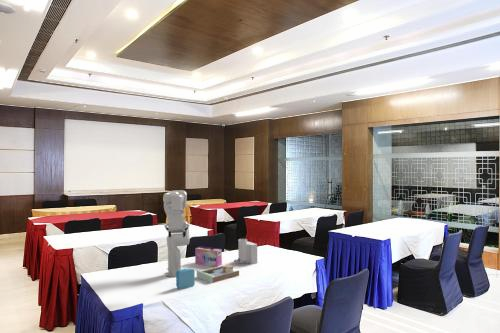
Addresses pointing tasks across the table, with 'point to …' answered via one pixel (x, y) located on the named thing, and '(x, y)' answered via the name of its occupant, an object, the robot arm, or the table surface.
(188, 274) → the data package
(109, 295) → the table surface
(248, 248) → the control panel
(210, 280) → the box
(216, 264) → the gum box
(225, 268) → the maple block
